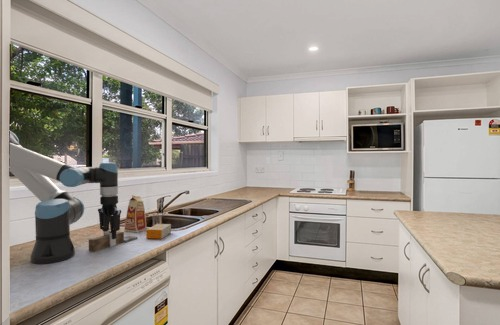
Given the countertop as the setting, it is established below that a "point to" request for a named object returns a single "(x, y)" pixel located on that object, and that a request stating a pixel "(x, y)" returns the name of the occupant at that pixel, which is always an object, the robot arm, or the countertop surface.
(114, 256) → the countertop surface
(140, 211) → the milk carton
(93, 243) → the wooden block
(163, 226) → the supplement box
